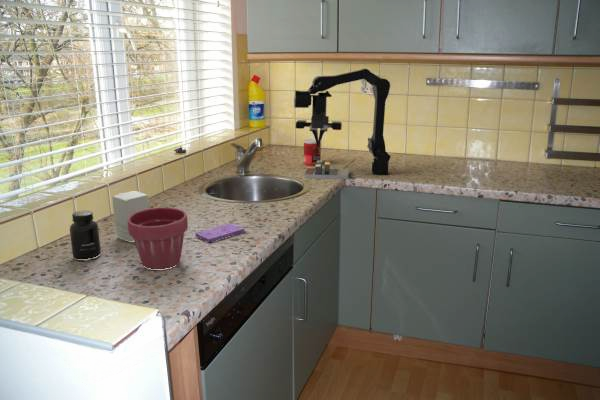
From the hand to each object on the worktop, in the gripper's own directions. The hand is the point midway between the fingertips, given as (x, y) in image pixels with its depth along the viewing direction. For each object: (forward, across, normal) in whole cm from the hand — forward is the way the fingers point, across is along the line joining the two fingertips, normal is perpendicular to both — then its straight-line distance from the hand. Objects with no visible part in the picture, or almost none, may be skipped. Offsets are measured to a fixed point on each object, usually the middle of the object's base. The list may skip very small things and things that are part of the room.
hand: (318, 145), depth 211 cm
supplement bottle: (+14, -52, -94) cm, 108 cm away
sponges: (+14, -22, -74) cm, 78 cm away
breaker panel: (+12, +4, 0) cm, 13 cm away
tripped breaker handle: (+11, +4, 0) cm, 11 cm away
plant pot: (+14, -31, -96) cm, 101 cm away
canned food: (+13, -4, +20) cm, 24 cm away
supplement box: (+14, -46, -79) cm, 92 cm away
